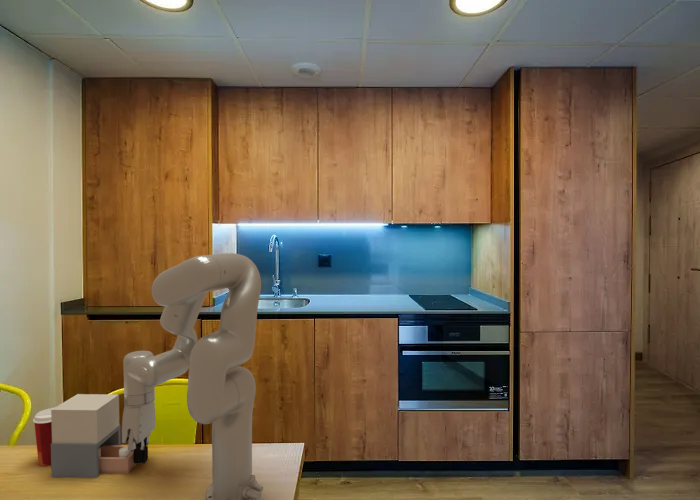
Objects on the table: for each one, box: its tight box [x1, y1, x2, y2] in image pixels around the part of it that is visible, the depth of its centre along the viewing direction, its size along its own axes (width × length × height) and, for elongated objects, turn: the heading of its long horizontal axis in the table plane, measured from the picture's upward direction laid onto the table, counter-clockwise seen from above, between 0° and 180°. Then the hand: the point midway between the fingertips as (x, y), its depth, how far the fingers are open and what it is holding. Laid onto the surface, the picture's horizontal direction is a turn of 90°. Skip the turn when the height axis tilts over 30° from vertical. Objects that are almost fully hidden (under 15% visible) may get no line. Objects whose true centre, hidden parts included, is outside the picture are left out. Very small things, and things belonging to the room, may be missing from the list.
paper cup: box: [32, 407, 54, 467], centre depth 116 cm, size 8×8×14 cm
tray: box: [98, 444, 139, 475], centre depth 114 cm, size 14×7×5 cm, turn 89°
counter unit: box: [50, 393, 122, 479], centre depth 114 cm, size 12×11×18 cm
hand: (141, 461), depth 115 cm, fingers closed
